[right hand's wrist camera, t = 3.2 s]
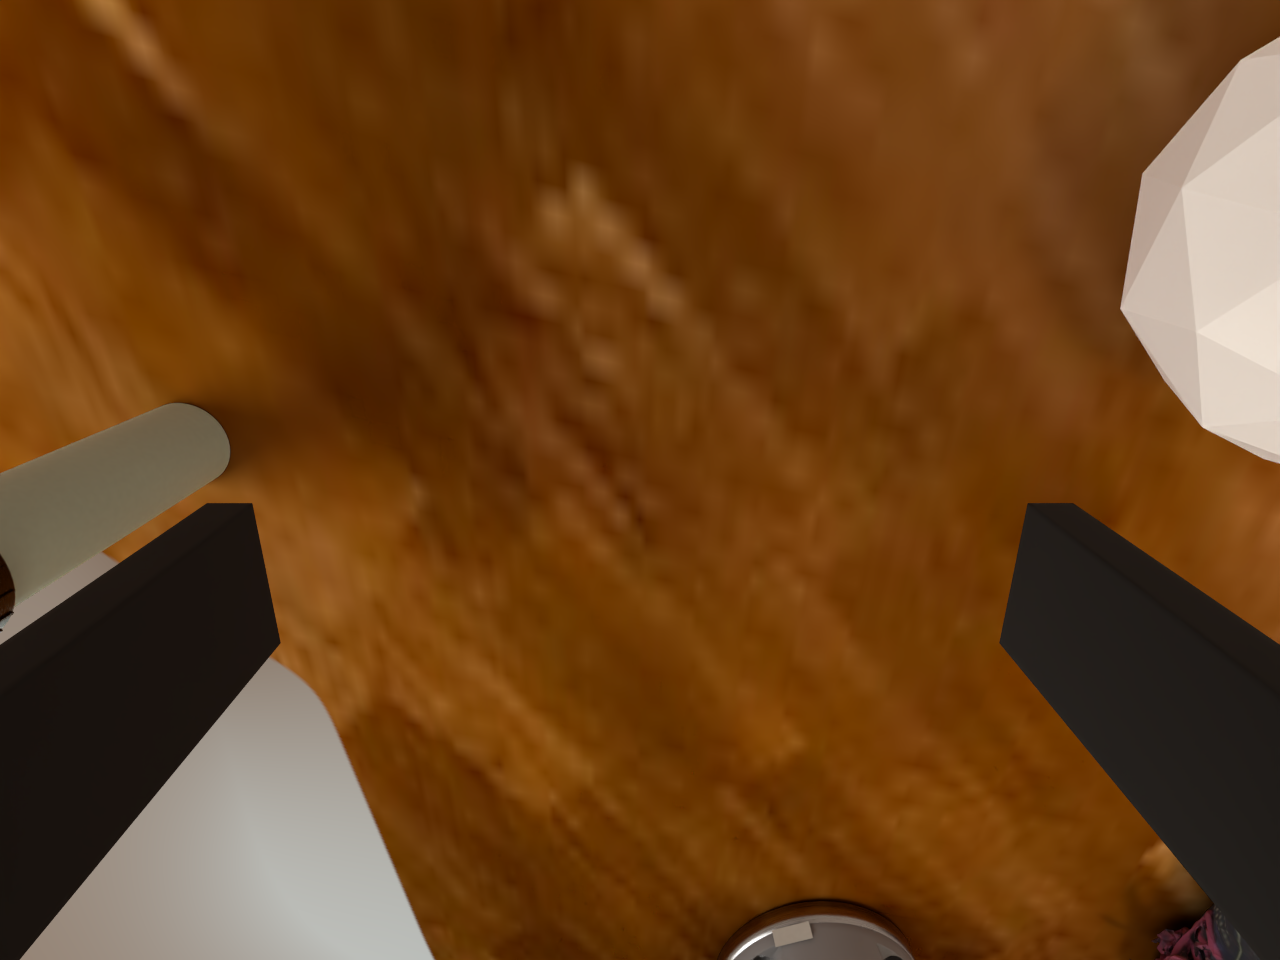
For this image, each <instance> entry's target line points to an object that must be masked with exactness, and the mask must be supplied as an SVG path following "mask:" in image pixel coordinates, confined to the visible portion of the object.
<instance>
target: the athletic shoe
mask: <svg viewBox="0 0 1280 960" xmlns="http://www.w3.org/2000/svg"><path fill="white" fill-rule="evenodd" d="M1157 936H1158V938H1156V939H1154V940H1152V942H1154V943H1157V942H1159V943H1160V944H1159V945H1158V946H1157V949H1158V950H1159V952H1160V953H1161V955H1160V959H1155V960H1260V959H1259V957H1258V956H1257V955H1256V954H1255V952H1254V951H1253V950H1252V949H1251V948H1250V946H1249V945H1248V944H1247V943H1246V942H1245V940H1244V939H1243V938H1242V937H1241V935H1240V934H1239V933H1238V932H1237V931H1236V929H1235V928H1234V927H1233V926H1232V925H1231V923H1230V922H1229V921H1228V920H1227V918H1226V917H1225V916H1224V915H1223V914H1222V912H1221V911H1220V910H1219V909H1218V908H1217V906H1216V905H1215V904H1213V905H1212V906H1211V907H1210V908H1209V909H1208V910H1207V911H1206V912H1205V913H1204V914H1203V916H1202V917H1201V918H1200V920H1198V921H1196V922H1195V923H1194V925H1193V926H1192V928H1191V929H1188V928H1187V927H1183V928H1182V929H1180V930H1178V931H1175V932H1174V930H1168V929H1165V930H1163V931H1162V932H1160V933H1159V934H1157ZM1130 960H1131V959H1130Z"/></svg>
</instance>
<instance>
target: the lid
mask: <svg viewBox="0 0 1280 960" xmlns="http://www.w3.org/2000/svg"><path fill="white" fill-rule="evenodd" d="M15 592H16V591H15V586H14V581H13V578H12V575H11V572H10V570H9V568H8V566H7V564H6V562H5V560H4V559H3V557H2V556H1V554H0V632H2V631H3V630H2V628H3V627H4V626H5V624H6V623H7V622H8V620H9V618H10V616H11V615H13V613H14V612H13V609H14V605H15Z"/></svg>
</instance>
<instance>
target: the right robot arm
mask: <svg viewBox="0 0 1280 960" xmlns="http://www.w3.org/2000/svg"><path fill="white" fill-rule="evenodd" d="M279 644H280V638H279V633H278V628H277V623H276V618H275V613H274V608H273V603H272V598H271V594H270V589H269V584H268V579H267V574H266V569H265V564H264V559H263V554H262V549H261V544H260V539H259V534H258V529H257V524H256V520H255V515H254V510H253V505H252V503H207V504H205V505H204V506H202V507H201V508H199V509H198V510H196V511H195V512H194V513H192V514H191V515H189V516H188V517H186V518H185V519H183V520H182V521H180V522H179V523H178V524H176V525H175V526H173V527H172V528H170V529H169V530H167V531H166V532H164V533H163V534H161V535H160V536H159V537H157V538H156V539H154V540H153V541H151V542H150V543H148V544H147V545H145V546H144V547H142V548H141V549H140V550H138V551H137V552H135V553H134V554H132V555H131V556H129V557H128V558H126V559H125V560H123V561H122V562H121V563H119V564H118V565H116V566H115V567H113V568H112V569H110V570H109V571H107V572H106V573H104V574H103V575H102V576H100V577H99V578H97V579H96V580H94V581H93V582H91V583H90V584H88V585H87V586H85V587H84V588H83V589H81V590H80V591H78V592H77V593H75V594H74V595H72V596H71V597H69V598H68V599H67V600H65V601H64V602H62V603H61V604H59V605H58V606H56V607H55V608H53V609H52V610H50V611H49V612H48V613H46V614H45V615H43V616H42V617H40V618H39V619H37V620H36V621H34V622H33V623H32V624H30V625H29V626H27V627H26V628H24V629H23V630H21V631H20V632H18V633H17V634H15V635H14V636H13V637H11V638H10V639H8V640H7V641H5V642H4V643H2V644H1V645H0V960H20V959H21V957H22V956H23V955H24V954H25V952H26V951H27V950H28V949H29V948H30V946H31V945H32V944H33V943H34V942H35V940H36V939H37V938H38V937H39V935H40V934H41V933H42V932H43V931H44V929H45V928H46V927H47V926H48V925H49V923H50V922H51V921H52V920H53V918H54V917H55V916H56V915H57V914H58V912H59V911H60V910H61V909H62V907H63V906H64V905H65V904H66V903H67V901H68V900H69V899H70V898H71V897H72V895H73V894H74V893H75V892H76V891H77V889H78V888H79V887H80V886H81V885H82V883H83V882H84V881H85V880H86V878H87V877H88V876H89V875H90V874H91V872H92V871H93V870H94V869H95V867H96V866H97V865H98V864H99V863H100V861H101V860H102V859H103V858H104V857H105V855H106V854H107V853H108V852H109V851H110V849H111V848H112V847H113V846H114V844H115V843H116V842H117V841H118V840H119V838H120V837H121V836H122V835H123V834H124V832H125V831H126V830H127V829H128V827H129V826H130V825H131V824H132V823H133V821H134V820H135V819H136V818H137V817H138V815H139V814H140V813H141V812H142V810H143V809H144V808H145V807H146V806H147V804H148V803H149V802H150V801H151V800H152V798H153V797H154V796H155V795H156V793H157V792H158V791H159V790H160V789H161V787H162V786H163V785H164V784H165V783H166V781H167V780H168V779H169V778H170V776H171V775H172V774H173V773H174V772H175V770H176V769H177V768H178V767H179V766H180V764H181V763H182V762H183V761H184V760H185V758H186V757H187V756H188V755H189V753H190V752H191V751H192V750H193V749H194V747H195V746H196V745H197V744H198V743H199V741H200V740H201V739H202V738H203V736H204V735H205V734H206V733H207V732H208V730H209V729H210V728H211V727H212V725H213V724H214V723H215V722H216V721H217V719H218V718H219V717H220V716H221V715H222V713H223V712H224V711H225V710H226V709H227V707H228V706H229V705H230V704H231V702H232V701H233V700H234V699H235V698H236V696H237V695H238V694H239V693H240V692H241V690H242V689H243V688H244V687H245V685H246V684H247V683H248V682H249V681H250V679H251V678H252V677H253V676H254V674H255V673H256V672H257V671H258V670H259V669H260V667H261V666H262V665H263V664H264V662H265V661H266V660H267V659H268V658H269V656H270V655H271V654H272V653H273V652H274V650H275V649H276V648H277V647H278V645H279ZM1000 644H1001V645H1002V647H1003V648H1004V649H1005V650H1006V652H1007V653H1008V654H1009V655H1010V656H1011V658H1012V659H1013V660H1014V661H1015V662H1016V664H1017V665H1018V666H1019V667H1020V669H1021V670H1022V671H1023V672H1024V673H1025V675H1026V676H1027V677H1028V678H1029V679H1030V681H1031V682H1032V683H1033V684H1034V686H1035V687H1036V688H1037V689H1038V690H1039V692H1040V693H1041V694H1042V695H1043V696H1044V698H1045V699H1046V700H1047V701H1048V702H1049V704H1050V705H1051V706H1052V707H1053V709H1054V710H1055V711H1056V712H1057V713H1058V715H1059V716H1060V717H1061V718H1062V719H1063V721H1064V722H1065V723H1066V724H1067V726H1068V727H1069V728H1070V729H1071V730H1072V732H1073V733H1074V734H1075V735H1076V736H1077V738H1078V739H1079V740H1080V741H1081V743H1082V744H1083V745H1084V746H1085V747H1086V749H1087V750H1088V751H1089V752H1090V753H1091V755H1092V756H1093V757H1094V758H1095V760H1096V761H1097V762H1098V763H1099V764H1100V766H1101V767H1102V768H1103V769H1104V770H1105V772H1106V773H1107V774H1108V775H1109V777H1110V778H1111V779H1112V780H1113V781H1114V783H1115V784H1116V785H1117V786H1118V787H1119V789H1120V790H1121V791H1122V792H1123V794H1124V795H1125V796H1126V797H1127V798H1128V800H1129V801H1130V802H1131V803H1132V804H1133V806H1134V807H1135V808H1136V809H1137V810H1138V812H1139V813H1140V814H1141V815H1142V817H1143V818H1144V819H1145V820H1146V821H1147V823H1148V824H1149V825H1150V826H1151V827H1152V829H1153V830H1154V831H1155V832H1156V834H1157V835H1158V836H1159V837H1160V838H1161V840H1162V841H1163V842H1164V843H1165V844H1166V846H1167V847H1168V848H1169V849H1170V851H1171V852H1172V853H1173V854H1174V855H1175V857H1176V858H1177V859H1178V860H1179V861H1180V863H1181V864H1182V865H1183V866H1184V868H1185V869H1186V870H1187V871H1188V872H1189V874H1190V875H1191V876H1192V877H1193V878H1194V880H1195V881H1196V882H1197V883H1198V885H1199V886H1200V887H1201V888H1202V889H1203V891H1204V892H1205V893H1206V894H1207V895H1208V897H1209V898H1210V899H1211V900H1212V901H1213V903H1214V904H1215V905H1216V906H1217V908H1218V909H1219V910H1220V911H1221V912H1222V914H1223V915H1224V916H1225V917H1226V918H1227V920H1228V921H1229V922H1230V923H1231V925H1232V926H1233V927H1234V928H1235V929H1236V931H1237V932H1238V933H1239V934H1240V935H1241V937H1242V938H1243V939H1244V940H1245V942H1246V943H1247V944H1248V945H1249V946H1250V948H1251V949H1252V950H1253V951H1254V952H1255V954H1256V955H1257V956H1258V957H1259V959H1260V960H1280V645H1279V644H1278V643H1276V642H1275V641H1273V640H1272V639H1270V638H1269V637H1268V636H1266V635H1265V634H1263V633H1262V632H1260V631H1259V630H1257V629H1256V628H1254V627H1253V626H1251V625H1250V624H1249V623H1247V622H1246V621H1244V620H1243V619H1241V618H1240V617H1238V616H1237V615H1235V614H1234V613H1232V612H1231V611H1230V610H1228V609H1227V608H1225V607H1224V606H1222V605H1221V604H1219V603H1218V602H1216V601H1215V600H1213V599H1212V598H1211V597H1209V596H1208V595H1206V594H1205V593H1203V592H1202V591H1200V590H1199V589H1197V588H1196V587H1195V586H1193V585H1192V584H1190V583H1189V582H1187V581H1186V580H1184V579H1183V578H1181V577H1180V576H1178V575H1177V574H1176V573H1174V572H1173V571H1171V570H1170V569H1168V568H1167V567H1165V566H1164V565H1162V564H1161V563H1159V562H1158V561H1157V560H1155V559H1154V558H1152V557H1151V556H1149V555H1148V554H1146V553H1145V552H1143V551H1142V550H1140V549H1139V548H1138V547H1136V546H1135V545H1133V544H1132V543H1130V542H1129V541H1127V540H1126V539H1124V538H1123V537H1121V536H1120V535H1119V534H1117V533H1116V532H1114V531H1113V530H1111V529H1110V528H1108V527H1107V526H1105V525H1104V524H1102V523H1101V522H1100V521H1098V520H1097V519H1095V518H1094V517H1092V516H1091V515H1089V514H1088V513H1086V512H1085V511H1084V510H1082V509H1081V508H1079V507H1078V506H1076V505H1075V504H1073V503H1028V505H1027V510H1026V515H1025V520H1024V524H1023V529H1022V534H1021V539H1020V544H1019V549H1018V554H1017V559H1016V564H1015V569H1014V574H1013V579H1012V584H1011V589H1010V594H1009V598H1008V603H1007V608H1006V613H1005V618H1004V623H1003V628H1002V633H1001V638H1000ZM717 960H915V959H914V956H913V953H912V950H911V948H910V945H909V943H908V941H907V940H906V938H905V936H904V935H903V934H902V932H901V931H900V930H899V929H898V928H897V927H896V926H895V925H894V924H893V923H891V922H890V921H889V920H887V919H886V918H884V917H883V916H881V915H879V914H877V913H875V912H873V911H871V910H868V909H866V908H863V907H860V906H856V905H852V904H847V903H841V902H831V901H814V902H803V903H797V904H792V905H788V906H784V907H780V908H777V909H774V910H772V911H769V912H767V913H764V914H762V915H760V916H758V917H757V918H755V919H753V920H751V921H750V922H748V923H747V924H745V925H744V926H743V927H741V928H740V929H739V930H738V931H737V932H736V933H735V934H733V936H732V937H731V938H730V939H729V940H728V941H727V943H726V944H725V945H724V947H723V949H722V950H721V952H720V954H719V957H718V959H717Z"/></svg>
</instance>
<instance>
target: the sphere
mask: <svg viewBox="0 0 1280 960" xmlns="http://www.w3.org/2000/svg"><path fill="white" fill-rule="evenodd" d="M1120 309H1121V311H1122V312H1123V314H1124V315H1125V317H1126V319H1127V320H1128V322H1129V324H1130V325H1131V327H1132V329H1133V330H1134V332H1135V333H1136V335H1137V337H1138V338H1139V340H1140V342H1141V343H1142V345H1143V346H1144V348H1145V350H1146V351H1147V353H1148V355H1149V356H1150V358H1151V360H1152V361H1153V363H1154V364H1155V366H1156V368H1157V369H1158V371H1159V373H1160V374H1161V376H1162V377H1163V379H1164V381H1165V382H1166V383H1167V384H1168V385H1169V387H1170V388H1171V389H1172V390H1173V392H1174V393H1175V394H1176V395H1177V397H1178V398H1179V399H1180V400H1181V402H1182V403H1183V404H1184V405H1185V406H1186V408H1187V409H1188V410H1189V411H1190V413H1191V414H1192V415H1193V416H1194V418H1195V419H1196V420H1197V421H1198V422H1199V424H1200V425H1201V426H1202V427H1203V428H1205V429H1207V430H1209V431H1210V432H1212V433H1214V434H1216V435H1218V436H1220V437H1222V438H1224V439H1226V440H1228V441H1230V442H1232V443H1234V444H1236V445H1238V446H1240V447H1242V448H1244V449H1245V450H1247V451H1249V452H1251V453H1253V454H1255V455H1257V456H1259V457H1261V458H1263V459H1266V460H1270V461H1273V462H1277V463H1280V37H1279V38H1277V39H1275V40H1274V41H1272V42H1270V43H1268V44H1267V45H1265V46H1263V47H1262V48H1260V49H1258V50H1257V51H1255V52H1253V53H1252V54H1250V55H1248V56H1247V57H1245V58H1243V59H1241V60H1240V61H1239V62H1238V64H1237V65H1236V66H1235V67H1234V68H1233V69H1232V71H1231V72H1230V73H1229V74H1228V75H1227V76H1226V77H1225V79H1224V80H1223V81H1222V82H1221V83H1220V84H1219V86H1218V87H1217V88H1216V89H1215V90H1214V91H1213V92H1212V94H1211V95H1210V96H1209V97H1208V98H1207V99H1206V101H1205V102H1204V103H1203V104H1202V105H1201V106H1200V108H1199V109H1198V110H1197V111H1196V112H1195V113H1194V114H1193V116H1192V117H1191V118H1190V119H1189V120H1188V121H1187V123H1186V124H1185V125H1184V126H1183V127H1182V128H1181V129H1180V131H1179V132H1178V133H1177V134H1176V135H1175V136H1174V138H1173V139H1172V140H1171V141H1170V142H1169V143H1168V145H1167V146H1166V147H1165V148H1164V149H1163V150H1162V151H1161V153H1160V154H1159V155H1158V156H1157V157H1156V158H1155V160H1154V161H1153V162H1152V163H1151V164H1150V165H1149V166H1148V168H1147V169H1146V170H1145V171H1144V172H1143V174H1142V180H1141V186H1140V192H1139V198H1138V204H1137V210H1136V216H1135V222H1134V228H1133V234H1132V240H1131V247H1130V253H1129V259H1128V265H1127V271H1126V277H1125V283H1124V289H1123V295H1122V301H1121V307H1120Z"/></svg>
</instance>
